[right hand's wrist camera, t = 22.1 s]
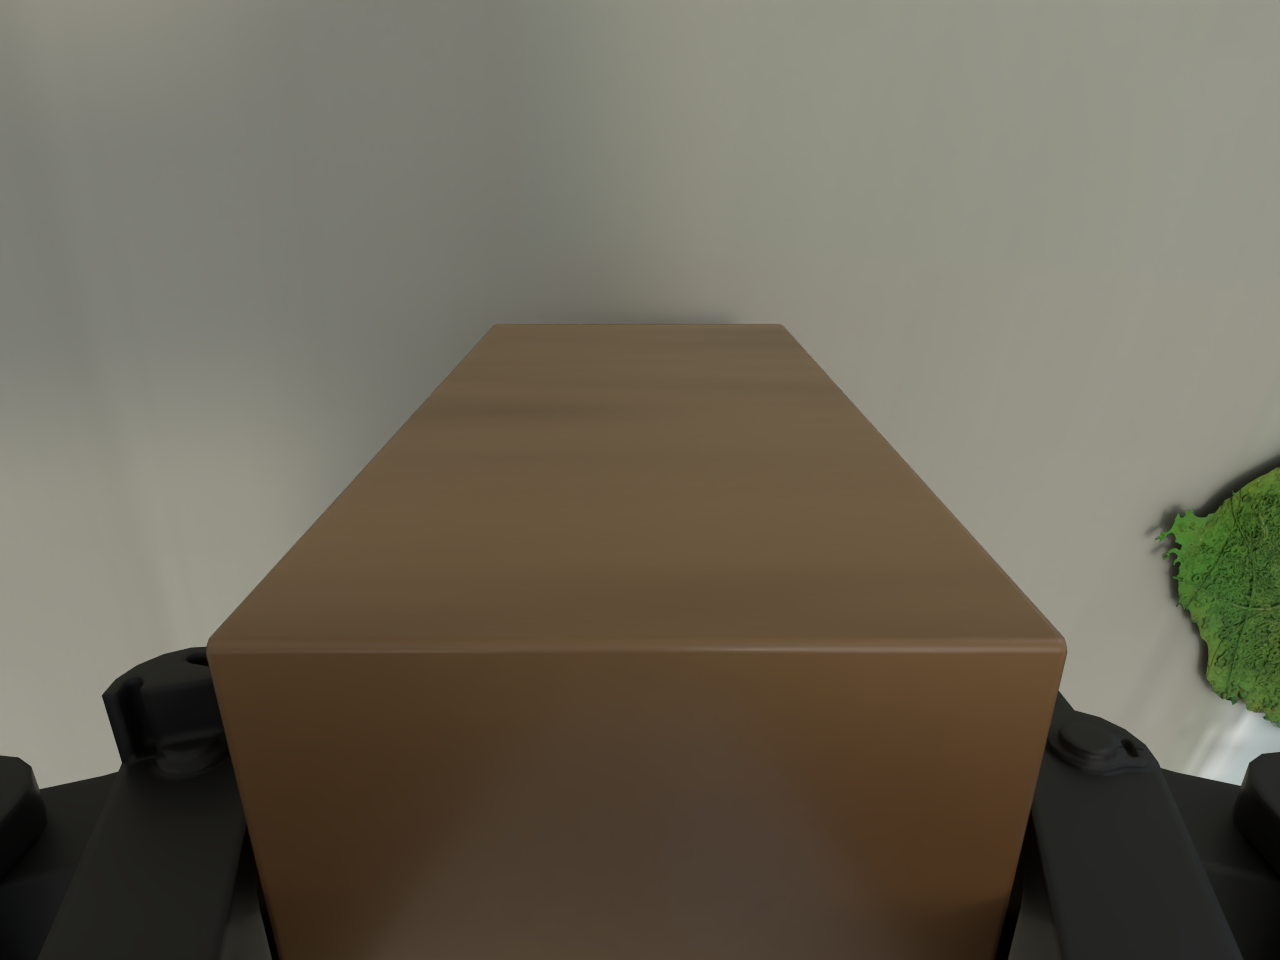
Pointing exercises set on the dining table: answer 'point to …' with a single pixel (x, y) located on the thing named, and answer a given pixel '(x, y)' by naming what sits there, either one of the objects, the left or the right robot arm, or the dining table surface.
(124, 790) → the right robot arm
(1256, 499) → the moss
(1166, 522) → the dining table surface
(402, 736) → the block
